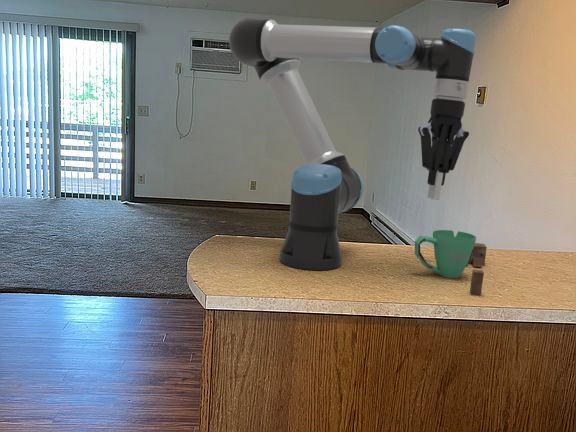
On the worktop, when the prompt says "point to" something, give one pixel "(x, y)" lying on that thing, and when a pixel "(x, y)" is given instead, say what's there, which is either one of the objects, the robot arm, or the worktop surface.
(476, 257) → the tie bar
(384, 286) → the worktop surface
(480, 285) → the brown blocks
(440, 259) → the mug
